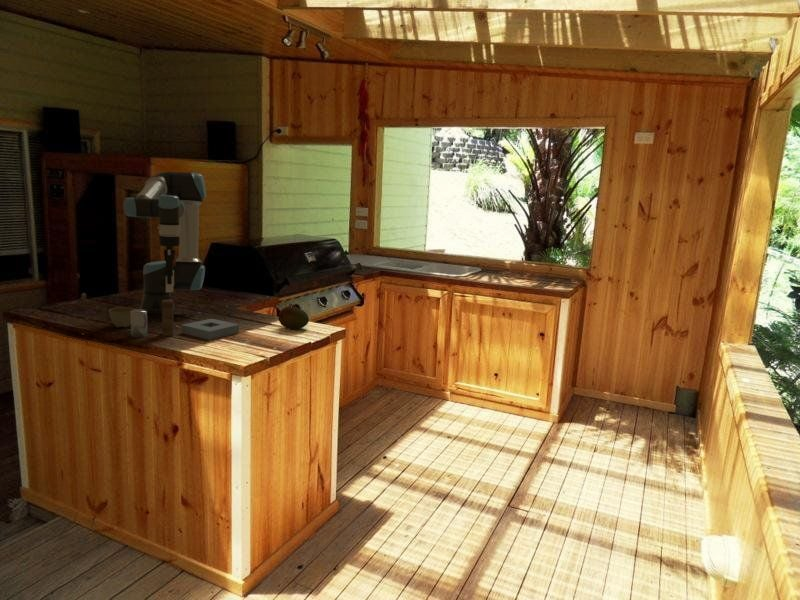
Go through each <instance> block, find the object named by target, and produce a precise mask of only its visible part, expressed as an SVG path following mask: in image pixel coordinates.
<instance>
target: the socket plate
mask: <svg viewBox="0 0 800 600" xmlns="http://www.w3.org/2000/svg"><path fill="white" fill-rule="evenodd" d="M180 326H181V334H183V335H187V336H190V337H196V338H200V339H203V340H209V341H211V340H215V339H219V338H223V337H227V336H231V335H236V334H240V333H239V332H240V324H238V323H233V322H229V321H223V320H221V319H214V318H208V319H203V320H199V321H193V322H189V323H184V324H181V325H180Z"/></svg>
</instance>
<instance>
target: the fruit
mask: <svg viewBox="0 0 800 600" xmlns="http://www.w3.org/2000/svg"><path fill="white" fill-rule="evenodd" d="M277 318H278V321H279V324H280V325H281V326H282V327H284V328H285V329H290V330H299V329H302V328H305V327H306V326H307V325H308V324H309V321H310V319H309V316H308V314H307V312H306V311H304V309H301V308H299V307H296V306H286V307H283V308H282V309H281V310H280V311H279V312H278V317H277Z"/></svg>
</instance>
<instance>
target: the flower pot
mask: <svg viewBox="0 0 800 600" xmlns="http://www.w3.org/2000/svg"><path fill="white" fill-rule="evenodd" d="M135 309H136V308H134V307H128V306H127V307H125V306H123V307H122V306H121V307H113V308H110V309H108V313H109V317H110V319H111V322H112V323H113V324H114V327H116V328H119V327H124V328H129V327H131V315H130V311H131V310H135Z"/></svg>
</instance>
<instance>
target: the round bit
mask: <svg viewBox="0 0 800 600" xmlns="http://www.w3.org/2000/svg"><path fill="white" fill-rule="evenodd" d="M134 309H135V310H131V311H130V315H131V324H130V337H132V338H145V337H148V334H149V333H148V314H147V310H144V309H140V308H138V309H136V308H134Z"/></svg>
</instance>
